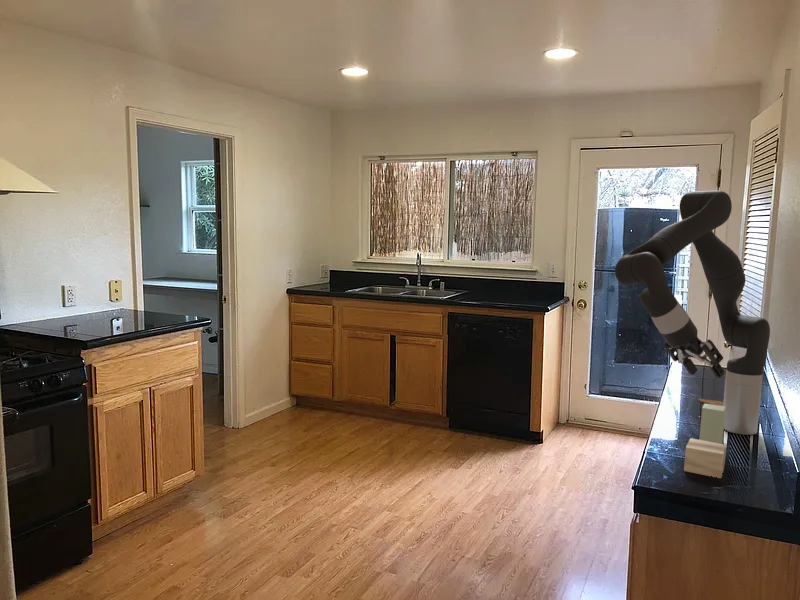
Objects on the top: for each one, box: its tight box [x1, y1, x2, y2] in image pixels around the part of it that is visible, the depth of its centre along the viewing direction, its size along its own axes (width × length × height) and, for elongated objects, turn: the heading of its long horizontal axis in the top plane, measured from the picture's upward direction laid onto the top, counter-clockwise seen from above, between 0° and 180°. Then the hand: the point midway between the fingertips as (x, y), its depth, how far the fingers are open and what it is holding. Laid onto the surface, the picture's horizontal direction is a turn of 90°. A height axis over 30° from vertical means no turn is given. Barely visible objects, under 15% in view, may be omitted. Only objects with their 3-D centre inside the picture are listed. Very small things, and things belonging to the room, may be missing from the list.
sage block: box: [698, 403, 726, 444], centre depth 167 cm, size 5×5×12 cm
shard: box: [697, 397, 724, 406], centre depth 215 cm, size 11×8×2 cm
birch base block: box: [683, 437, 727, 479], centre depth 156 cm, size 8×8×6 cm
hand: (707, 374), depth 159 cm, fingers open, 8 cm apart
